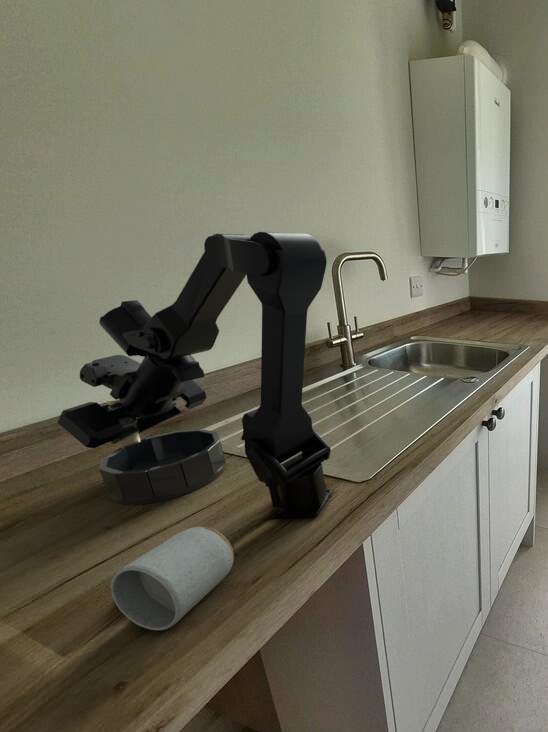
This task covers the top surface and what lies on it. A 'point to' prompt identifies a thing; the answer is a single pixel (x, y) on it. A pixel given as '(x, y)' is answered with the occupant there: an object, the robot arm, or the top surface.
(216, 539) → the pale grey cup
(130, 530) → the top surface
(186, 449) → the grey faceted ring
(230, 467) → the top surface
